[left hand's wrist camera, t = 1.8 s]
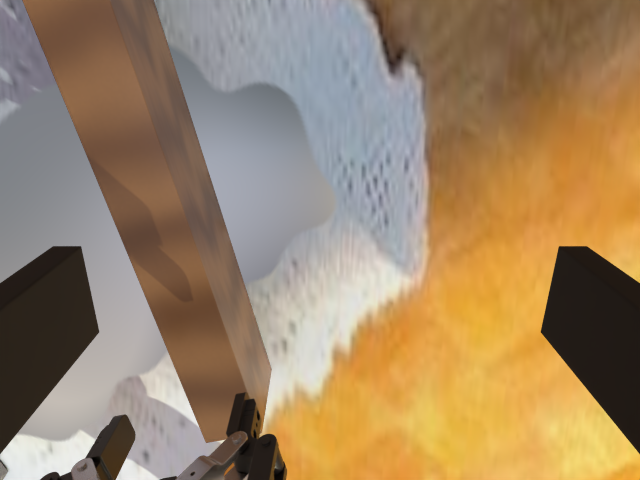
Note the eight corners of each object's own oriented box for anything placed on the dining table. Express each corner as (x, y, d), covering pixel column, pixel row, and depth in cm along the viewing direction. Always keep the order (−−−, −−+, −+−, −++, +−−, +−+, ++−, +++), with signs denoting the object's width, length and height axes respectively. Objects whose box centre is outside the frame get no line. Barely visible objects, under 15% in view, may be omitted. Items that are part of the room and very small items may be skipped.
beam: (-16, -273, 28) (-146, -404, 20) (59, -297, 28) (-45, -440, 20) (225, 378, 47) (205, 443, 39) (271, 369, 46) (261, 433, 38)
